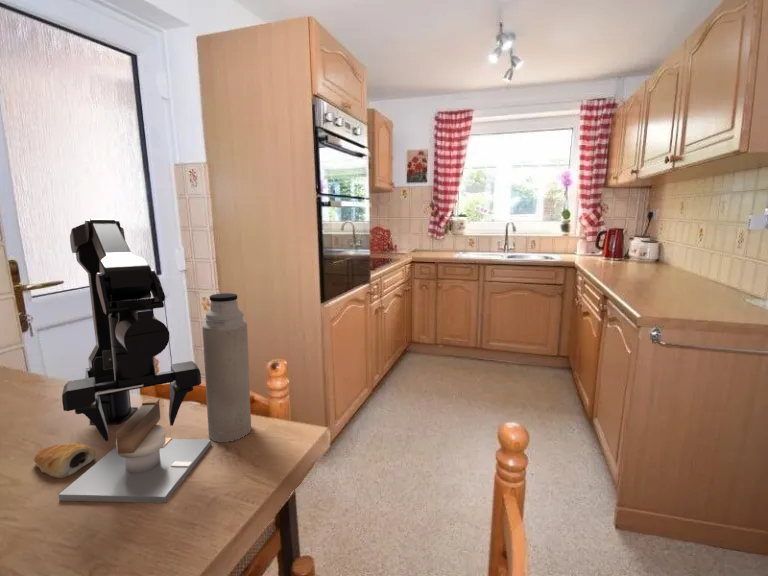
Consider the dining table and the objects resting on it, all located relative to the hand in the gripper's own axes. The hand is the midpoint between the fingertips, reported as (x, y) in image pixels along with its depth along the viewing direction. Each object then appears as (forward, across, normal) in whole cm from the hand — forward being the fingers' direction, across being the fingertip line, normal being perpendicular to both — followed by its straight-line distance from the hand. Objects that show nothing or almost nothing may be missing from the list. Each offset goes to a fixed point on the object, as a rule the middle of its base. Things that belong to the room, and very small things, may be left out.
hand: (140, 432), depth 68 cm
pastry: (+7, +11, -9) cm, 16 cm away
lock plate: (+7, 0, 0) cm, 7 cm away
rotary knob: (+2, 0, 0) cm, 2 cm away
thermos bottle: (+7, -15, -5) cm, 18 cm away
